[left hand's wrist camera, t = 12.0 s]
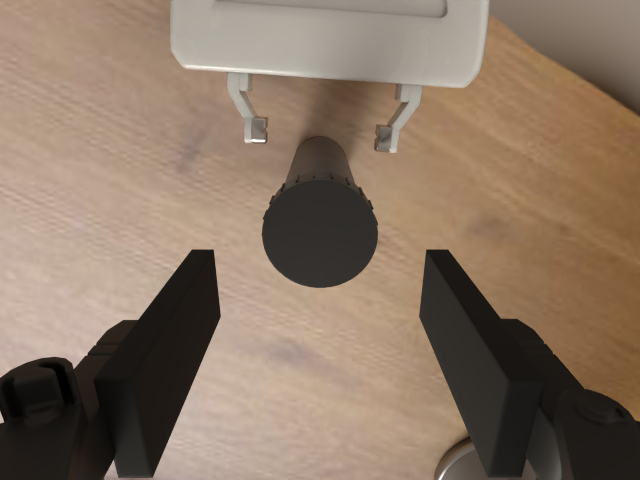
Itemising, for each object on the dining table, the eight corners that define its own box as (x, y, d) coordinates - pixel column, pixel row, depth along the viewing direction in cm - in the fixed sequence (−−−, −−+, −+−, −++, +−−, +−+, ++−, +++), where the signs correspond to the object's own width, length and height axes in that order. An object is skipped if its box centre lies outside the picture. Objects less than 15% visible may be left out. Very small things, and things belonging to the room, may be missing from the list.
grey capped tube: (283, 171, 36) (253, 247, 19) (311, 125, 34) (304, 165, 18) (327, 198, 37) (333, 293, 20) (356, 155, 35) (388, 219, 19)
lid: (245, 239, 21) (238, 253, 19) (302, 147, 19) (300, 153, 17) (334, 290, 22) (336, 308, 20) (396, 208, 20) (403, 220, 18)
